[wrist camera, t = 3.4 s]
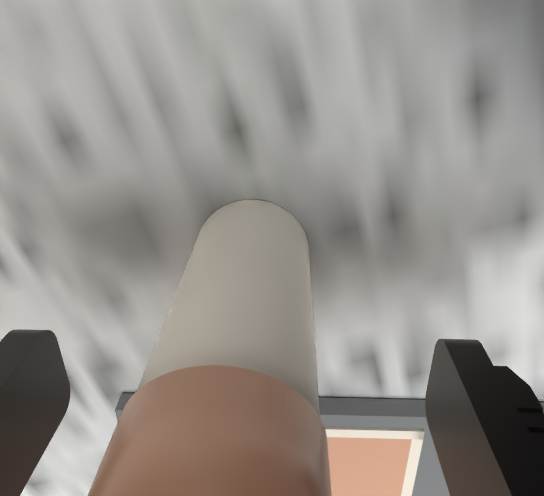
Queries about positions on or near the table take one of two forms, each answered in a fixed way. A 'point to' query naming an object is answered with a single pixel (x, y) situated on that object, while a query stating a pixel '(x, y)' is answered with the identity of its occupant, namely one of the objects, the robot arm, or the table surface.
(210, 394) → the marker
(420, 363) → the table surface
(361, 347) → the table surface
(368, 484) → the board
